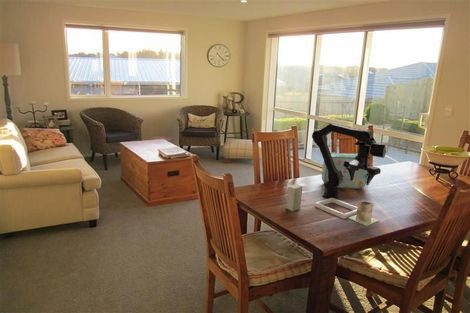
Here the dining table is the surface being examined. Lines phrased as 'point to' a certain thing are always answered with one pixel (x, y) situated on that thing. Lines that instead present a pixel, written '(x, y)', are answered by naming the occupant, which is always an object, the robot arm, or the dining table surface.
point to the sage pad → (363, 221)
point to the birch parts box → (364, 211)
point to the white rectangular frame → (332, 211)
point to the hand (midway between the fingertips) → (359, 182)
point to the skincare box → (294, 197)
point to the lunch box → (346, 171)
